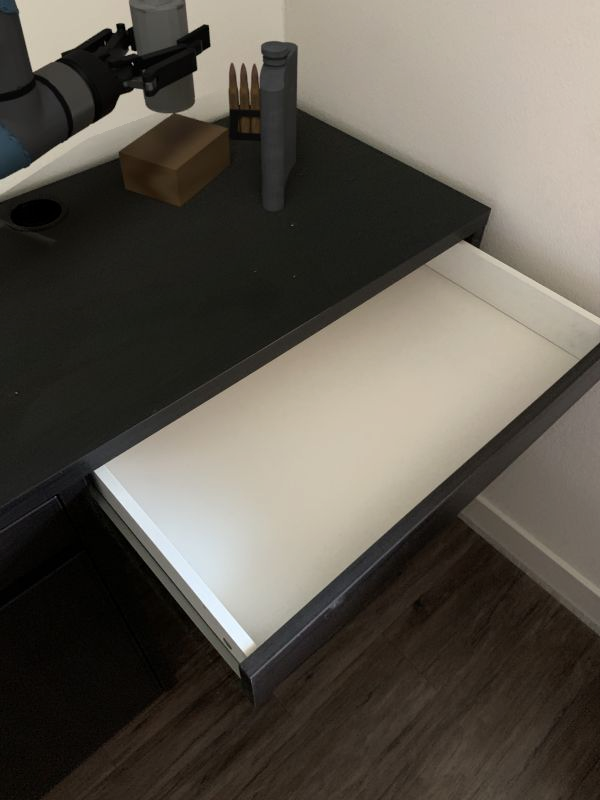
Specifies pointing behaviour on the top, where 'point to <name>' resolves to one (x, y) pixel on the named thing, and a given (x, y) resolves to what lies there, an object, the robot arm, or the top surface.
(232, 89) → the ammunition clip
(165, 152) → the plinth
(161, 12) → the bottle
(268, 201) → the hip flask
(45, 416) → the top surface
